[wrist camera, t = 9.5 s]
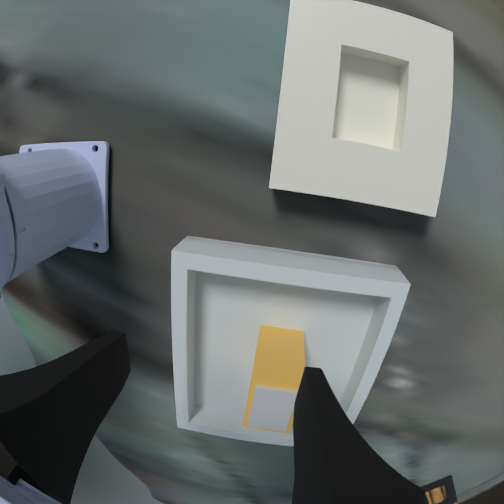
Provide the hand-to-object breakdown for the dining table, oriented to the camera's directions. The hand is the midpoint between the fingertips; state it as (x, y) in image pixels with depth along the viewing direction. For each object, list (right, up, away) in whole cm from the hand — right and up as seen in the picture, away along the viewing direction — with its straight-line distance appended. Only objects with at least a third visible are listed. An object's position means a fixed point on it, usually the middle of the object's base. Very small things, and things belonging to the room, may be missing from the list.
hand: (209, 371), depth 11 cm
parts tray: (+3, -3, +11) cm, 12 cm away
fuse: (+3, -3, +10) cm, 11 cm away
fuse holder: (+8, +14, +5) cm, 17 cm away
